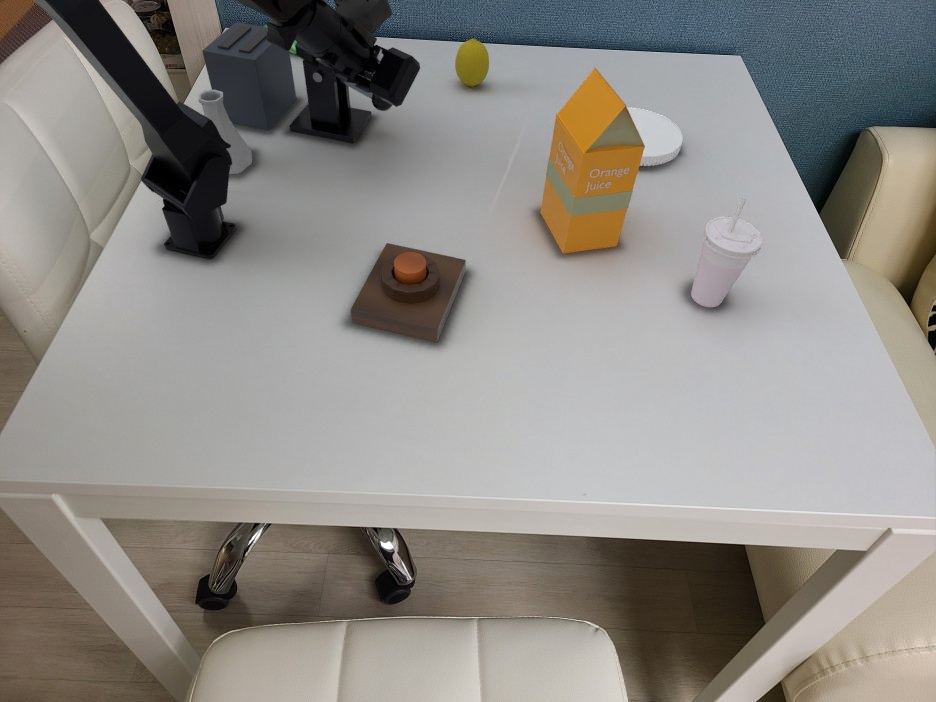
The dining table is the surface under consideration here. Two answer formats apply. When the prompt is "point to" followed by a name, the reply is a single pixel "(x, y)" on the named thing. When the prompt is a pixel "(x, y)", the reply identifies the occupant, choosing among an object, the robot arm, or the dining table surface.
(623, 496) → the dining table surface
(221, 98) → the flask
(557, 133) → the orange juice
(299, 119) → the lever bracket
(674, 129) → the plastic lid
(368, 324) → the control block
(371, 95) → the black lever
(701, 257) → the smoothie
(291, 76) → the toaster
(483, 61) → the lemon
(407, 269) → the button
